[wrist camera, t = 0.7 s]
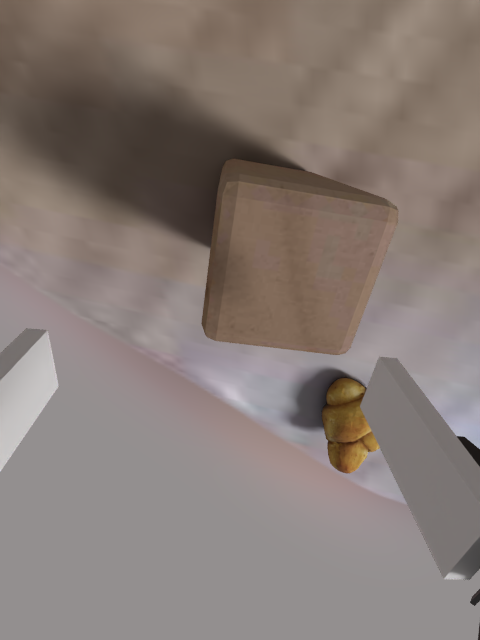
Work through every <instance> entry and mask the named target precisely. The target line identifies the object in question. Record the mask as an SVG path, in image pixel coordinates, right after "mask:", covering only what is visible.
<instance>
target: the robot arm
mask: <svg viewBox="0 0 480 640" xmlns="http://www.w3.org/2000/svg"><path fill="white" fill-rule="evenodd" d="M57 387H58V381H57V376H56V371H55V365H54V360H53V355H52V350H51V345H50V340H49V334H48V330H40V329H25V330H24V331H23V332H22V333H21V334H20V335H19V336H18V337H17V338H16V339H15V340H14V341H13V342H12V343H11V344H10V345H9V346H7V347H6V348H5V349H4V350H3V351H2V352H1V353H0V471H1V470H2V468H3V467H4V466H5V464H6V463H7V461H8V460H9V458H10V456H11V455H12V454H13V452H14V451H15V449H16V448H17V446H18V445H19V444H20V442H21V440H22V439H23V438H24V436H25V435H26V433H27V432H28V430H29V429H30V427H31V426H32V424H33V423H34V421H35V420H36V419H37V417H38V416H39V414H40V413H41V411H42V410H43V408H44V407H45V405H46V404H47V402H48V401H49V400H50V398H51V397H52V395H53V394H54V392H55V391H56V389H57ZM360 408H361V410H362V412H363V414H364V416H365V418H366V420H367V422H368V424H369V426H370V428H371V431H372V433H373V435H374V437H375V439H376V441H377V443H378V445H379V447H380V449H381V451H382V453H383V455H384V457H385V459H386V461H387V463H388V465H389V468H390V470H391V472H392V474H393V476H394V478H395V480H396V482H397V484H398V486H399V488H400V490H401V492H402V494H403V496H404V498H405V500H406V502H407V504H408V506H409V509H410V511H411V513H412V515H413V517H414V519H415V521H416V523H417V525H418V527H419V529H420V531H421V533H422V535H423V537H424V539H425V541H426V544H427V545H428V548H429V550H430V552H431V554H432V556H433V558H434V560H435V562H436V564H437V566H438V568H439V570H440V572H441V574H442V576H443V578H444V579H471V577H472V576H473V575H474V574H475V573H476V572H477V571H478V570H479V569H480V449H479V448H477V447H476V446H475V445H474V444H473V443H471V442H470V441H469V440H468V439H466V438H465V437H459V436H456V435H455V434H454V433H453V431H452V430H451V429H450V427H449V426H448V425H447V423H446V422H445V421H444V419H443V418H442V417H441V415H440V414H439V413H438V411H437V410H436V409H435V408H434V406H433V405H432V404H431V402H430V401H429V400H428V398H427V397H426V396H425V394H424V393H423V392H422V390H421V389H420V388H419V387H418V385H417V384H416V383H415V381H414V380H413V379H412V377H411V376H410V375H409V373H408V372H407V371H406V369H405V368H404V367H403V365H402V364H401V363H400V362H399V360H398V359H397V358H387V357H379V359H378V361H377V364H376V367H375V369H374V372H373V374H372V377H371V379H370V382H369V384H368V387H367V390H366V392H365V395H364V397H363V400H362V402H361V405H360ZM479 601H480V589H479V590H478V591H477V592H476V594H474V595H473V597H472V599H471V601H470V603H471V604H473V605H474V606H475V605H476V604H477V603H478V602H479ZM478 636H479V637H478V640H480V626H479V635H478Z"/></svg>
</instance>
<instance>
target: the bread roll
mask: <svg viewBox="0 0 480 640" xmlns="http://www.w3.org/2000/svg"><path fill="white" fill-rule="evenodd" d="M366 390H367V389H365V387H364V386H363V385H361V384H360V383H358V382H356V381H354V380H352V379H348V378H340V379H337V380H336V381H335V382H334V383H333V384H332V385H331V386H330V387H329V389H328V391H327V395H326V400H327V404H326V405H325V406H324V407H323V410H322V421H323V425H324V431H325V435H326V439H327V440H328V455H329V460H330V463H331V464H332V466H333V467H334V468H336V469H337V470H338V471H341V472H343V473H351V472H353V471H355V470H357V469H358V468H359V466H360V465H361V463H362V462H363V461H364V459H366V457H367V454H368V452H374V451H376V450H377V449H379V448H380V447H379V445H378V443H377V441H376V439H375V437H374V435H373V433H372V431H371V428H370V426H369V424H368V422H367V420H366V418H365V416H364V414H363V412H362V410H361V408H360V405H361V402H362V400H363V397H364V395H365V392H366Z"/></svg>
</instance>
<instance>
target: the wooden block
mask: <svg viewBox="0 0 480 640" xmlns="http://www.w3.org/2000/svg"><path fill="white" fill-rule="evenodd" d="M397 223H398V209H397V207H396V206H395V205H393V204H392V203H391V202H389V201H388V200H387V199H384V198H382V197H379V196H376V195H373V194H371V193H368V192H365V191H362V190H359V189H357V188H354V187H351V186H348V185H345V184H343V183H340V182H337V181H334V180H331V179H329V178H326V177H323V176H320V175H318V174H315V173H312V172H307V171H301V170H296V169H290V168H284V167H279V166H273V165H268V164H262V163H256V162H251V161H245V160H239V159H234V158H233V159H230V160H226V162H225V163H224V165H223V167H222V171H221V176H220V181H219V186H218V192H217V200H216V208H215V217H214V225H213V233H212V242H211V250H210V258H209V266H208V275H207V283H206V291H205V300H204V308H203V316H202V326H203V329H204V332H205V335H206V336H207V337H208V338H210V339H213V340H215V341H222V342H230V343H239V344H247V345H256V346H264V347H273V348H281V349H290V350H298V351H307V352H315V353H324V354H332V355H339V354H344V353H346V352H347V351H348V350H349V348H350V347H351V345H352V342H353V339H354V337H355V334H356V331H357V329H358V326H359V323H360V321H361V318H362V316H363V313H364V310H365V308H366V305H367V302H368V300H369V297H370V294H371V292H372V289H373V286H374V284H375V281H376V279H377V276H378V273H379V271H380V268H381V265H382V263H383V260H384V257H385V255H386V252H387V249H388V247H389V244H390V242H391V239H392V236H393V234H394V231H395V228H396V226H397Z"/></svg>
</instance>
